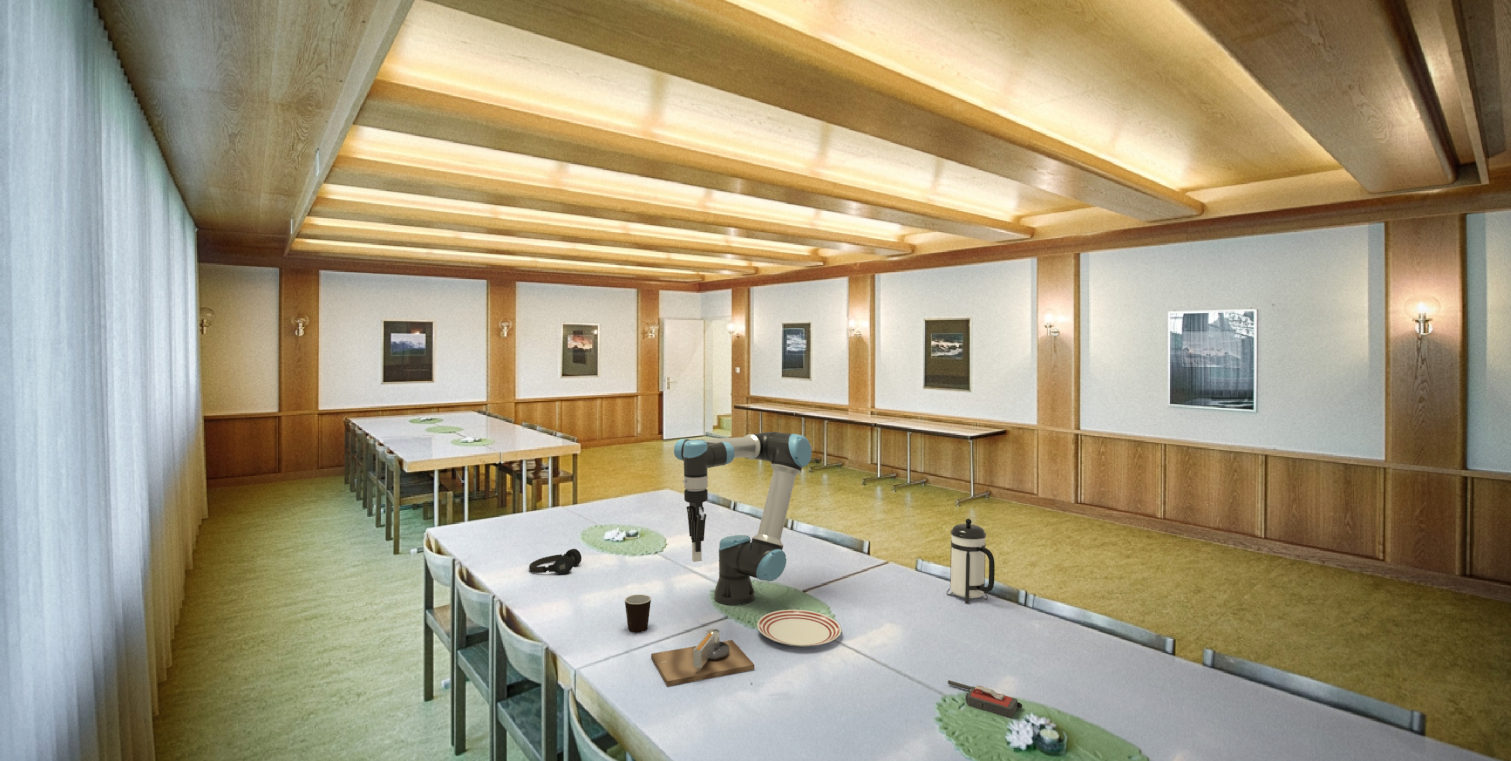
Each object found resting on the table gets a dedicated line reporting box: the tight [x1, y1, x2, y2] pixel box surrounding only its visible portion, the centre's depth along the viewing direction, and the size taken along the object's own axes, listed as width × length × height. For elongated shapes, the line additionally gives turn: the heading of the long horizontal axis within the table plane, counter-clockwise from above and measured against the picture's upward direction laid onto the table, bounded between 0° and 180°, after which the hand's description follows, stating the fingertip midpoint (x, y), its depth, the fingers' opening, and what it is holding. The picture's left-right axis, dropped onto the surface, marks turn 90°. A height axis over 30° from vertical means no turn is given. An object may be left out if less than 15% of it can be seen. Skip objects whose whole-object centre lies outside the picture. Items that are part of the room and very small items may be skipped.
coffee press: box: [946, 518, 996, 604], centre depth 249 cm, size 17×16×30 cm
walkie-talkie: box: [947, 680, 1023, 719], centre depth 175 cm, size 9×4×20 cm
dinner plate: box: [756, 609, 842, 648], centre depth 216 cm, size 28×27×3 cm
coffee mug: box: [624, 594, 652, 634], centre depth 220 cm, size 12×9×10 cm
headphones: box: [528, 548, 582, 576], centre depth 279 cm, size 17×7×20 cm
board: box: [650, 639, 755, 687], centre depth 194 cm, size 26×18×2 cm
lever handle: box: [693, 628, 729, 668], centre depth 194 cm, size 18×10×7 cm, turn 165°
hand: (696, 560), depth 213 cm, fingers closed
